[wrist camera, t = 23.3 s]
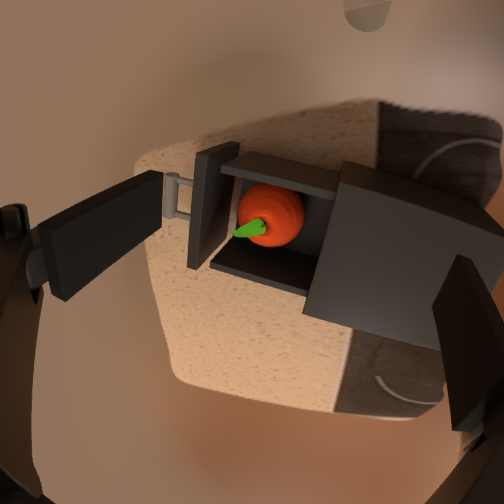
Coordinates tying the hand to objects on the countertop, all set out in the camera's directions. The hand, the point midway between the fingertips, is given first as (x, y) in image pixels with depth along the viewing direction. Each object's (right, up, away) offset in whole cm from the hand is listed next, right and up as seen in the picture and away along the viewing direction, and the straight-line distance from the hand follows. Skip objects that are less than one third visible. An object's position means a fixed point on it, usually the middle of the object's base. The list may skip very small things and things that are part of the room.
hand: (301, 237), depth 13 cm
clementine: (+1, +5, +24) cm, 24 cm away
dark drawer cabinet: (+15, +1, +22) cm, 27 cm away
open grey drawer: (0, +5, +25) cm, 25 cm away
